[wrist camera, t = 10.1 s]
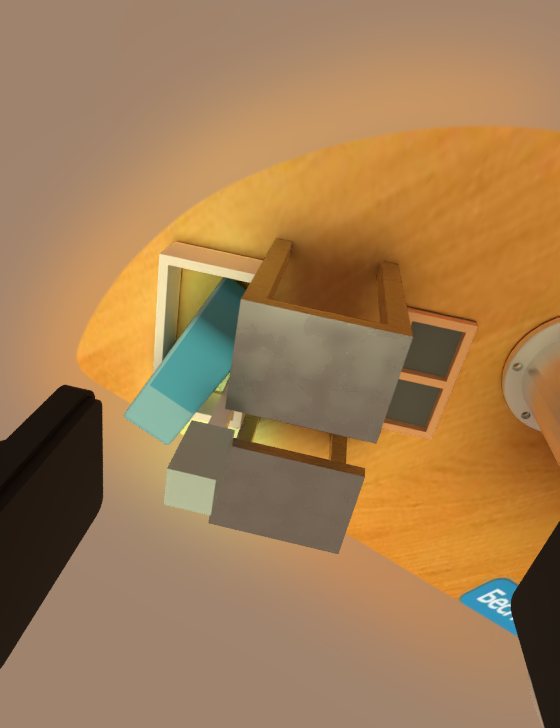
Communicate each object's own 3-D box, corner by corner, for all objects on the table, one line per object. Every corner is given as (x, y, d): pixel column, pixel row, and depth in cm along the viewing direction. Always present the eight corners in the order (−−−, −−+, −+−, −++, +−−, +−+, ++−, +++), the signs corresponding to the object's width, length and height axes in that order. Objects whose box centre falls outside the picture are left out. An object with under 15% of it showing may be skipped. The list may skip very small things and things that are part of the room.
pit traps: (475, 321, 45) (478, 326, 44) (430, 433, 52) (431, 440, 51) (405, 306, 46) (406, 311, 45) (368, 419, 52) (368, 425, 51)
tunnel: (397, 264, 44) (413, 337, 31) (343, 442, 54) (338, 554, 41) (276, 238, 44) (240, 299, 31) (245, 419, 54) (208, 523, 41)
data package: (202, 381, 53) (162, 453, 42) (166, 356, 52) (117, 423, 41) (268, 299, 47) (241, 358, 37) (229, 269, 46) (190, 321, 36)
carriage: (284, 264, 45) (229, 388, 26) (257, 409, 53) (200, 582, 34) (175, 241, 45) (44, 346, 27) (164, 387, 53) (58, 547, 35)
